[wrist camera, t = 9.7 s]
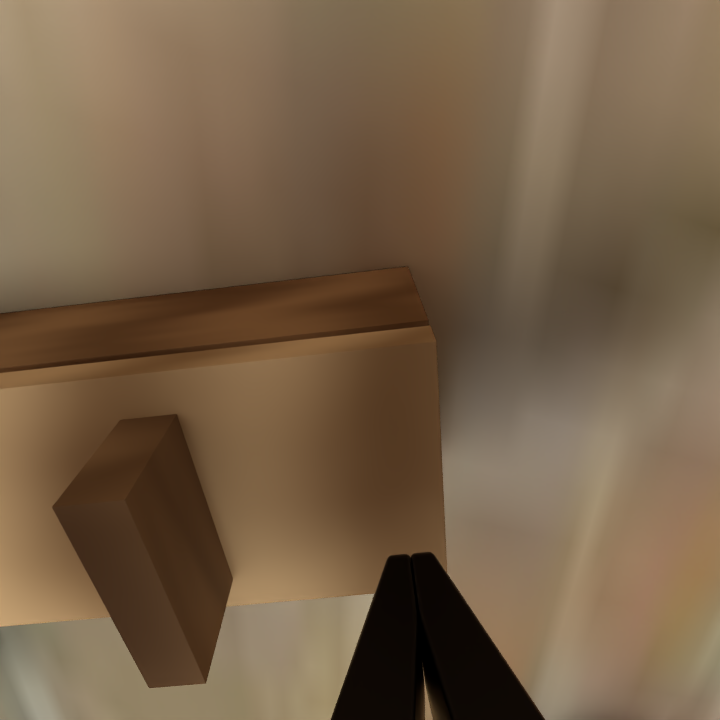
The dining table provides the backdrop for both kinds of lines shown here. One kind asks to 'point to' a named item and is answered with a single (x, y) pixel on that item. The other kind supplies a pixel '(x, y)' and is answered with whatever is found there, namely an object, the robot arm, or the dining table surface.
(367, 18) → the dining table surface
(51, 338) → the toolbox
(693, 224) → the dining table surface
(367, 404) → the lid
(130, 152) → the dining table surface
